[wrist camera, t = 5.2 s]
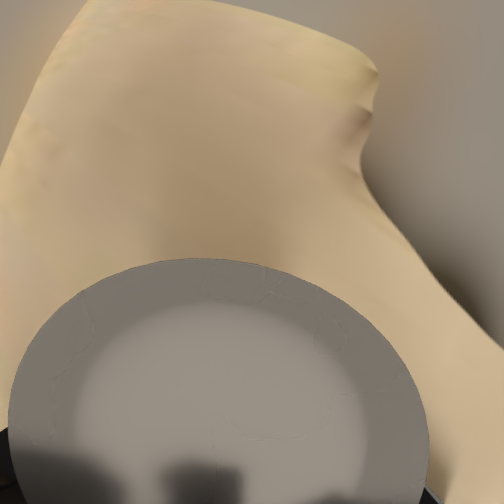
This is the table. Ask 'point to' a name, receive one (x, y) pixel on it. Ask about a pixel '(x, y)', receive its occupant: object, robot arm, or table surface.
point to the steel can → (214, 395)
